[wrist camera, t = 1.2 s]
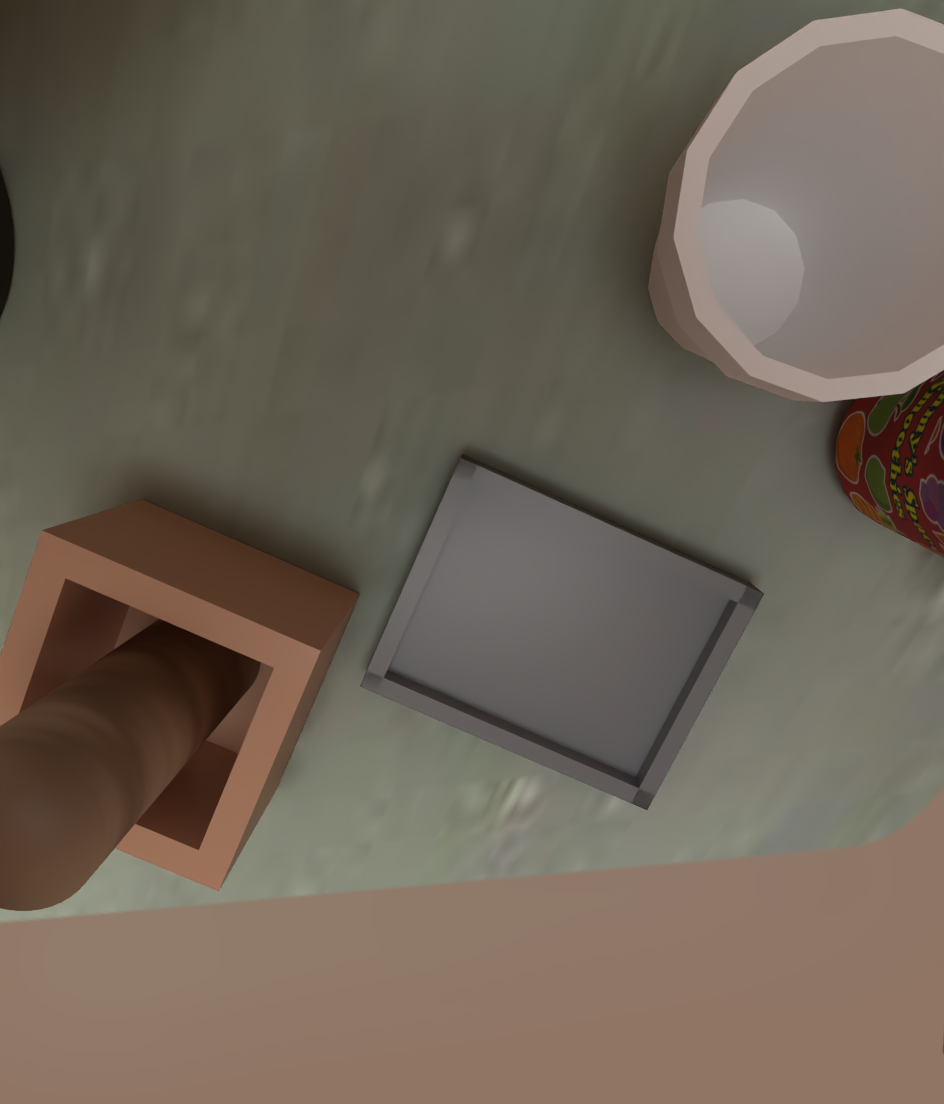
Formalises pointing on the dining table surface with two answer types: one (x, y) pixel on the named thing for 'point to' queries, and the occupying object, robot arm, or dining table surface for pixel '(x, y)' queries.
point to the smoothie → (897, 461)
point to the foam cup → (815, 215)
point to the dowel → (105, 755)
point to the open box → (206, 610)
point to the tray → (558, 633)
